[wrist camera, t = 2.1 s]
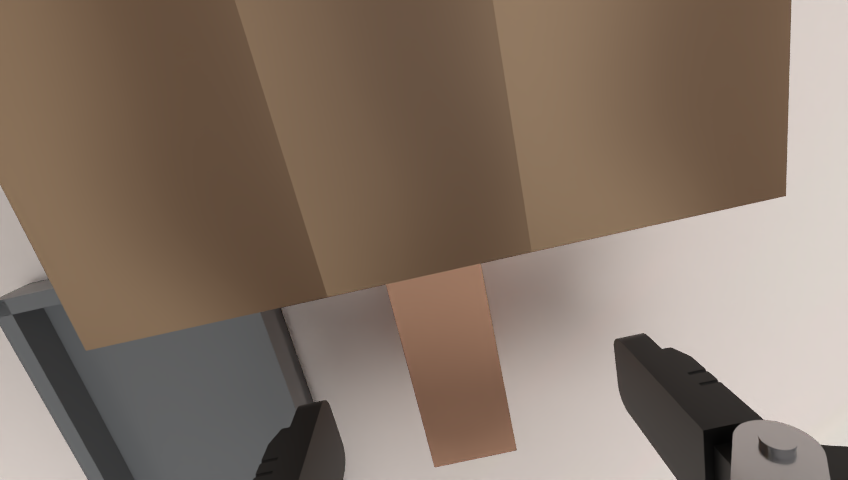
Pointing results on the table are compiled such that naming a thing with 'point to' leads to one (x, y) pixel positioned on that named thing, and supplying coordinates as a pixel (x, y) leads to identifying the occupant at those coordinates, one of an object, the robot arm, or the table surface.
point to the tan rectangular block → (453, 364)
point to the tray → (160, 391)
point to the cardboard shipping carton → (365, 139)
